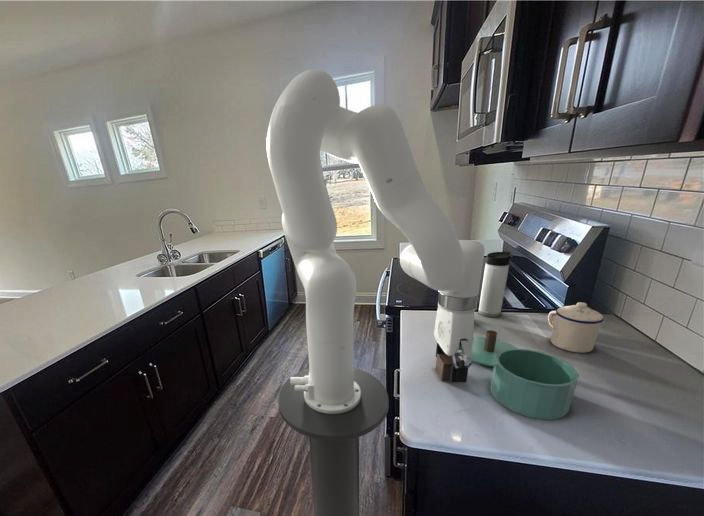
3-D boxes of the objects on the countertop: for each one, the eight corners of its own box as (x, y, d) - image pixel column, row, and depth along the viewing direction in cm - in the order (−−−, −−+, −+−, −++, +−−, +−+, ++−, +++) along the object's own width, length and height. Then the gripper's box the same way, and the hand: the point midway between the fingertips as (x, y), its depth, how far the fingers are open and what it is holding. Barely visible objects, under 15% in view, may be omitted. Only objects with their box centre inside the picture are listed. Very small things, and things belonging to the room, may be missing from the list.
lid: (471, 370, 75) (474, 347, 72) (449, 340, 88) (451, 321, 86) (535, 369, 74) (540, 346, 71) (502, 339, 87) (506, 319, 85)
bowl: (511, 420, 59) (518, 386, 57) (479, 377, 72) (484, 349, 69) (586, 419, 58) (597, 386, 55) (540, 377, 71) (547, 347, 68)
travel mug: (506, 315, 101) (517, 253, 94) (488, 318, 99) (498, 256, 92) (490, 308, 107) (500, 249, 99) (473, 311, 105) (482, 252, 98)
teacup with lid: (603, 350, 79) (617, 307, 75) (572, 356, 77) (585, 312, 73) (559, 330, 90) (568, 291, 86) (531, 334, 88) (539, 295, 84)
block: (441, 380, 72) (443, 364, 70) (435, 369, 76) (437, 353, 74) (461, 380, 71) (464, 363, 70) (454, 369, 75) (456, 353, 74)
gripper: (427, 287, 75) (422, 350, 81) (454, 317, 59) (446, 393, 65) (459, 285, 74) (452, 349, 81) (496, 316, 58) (484, 392, 64)
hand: (449, 368), depth 73 cm, fingers open, 9 cm apart
